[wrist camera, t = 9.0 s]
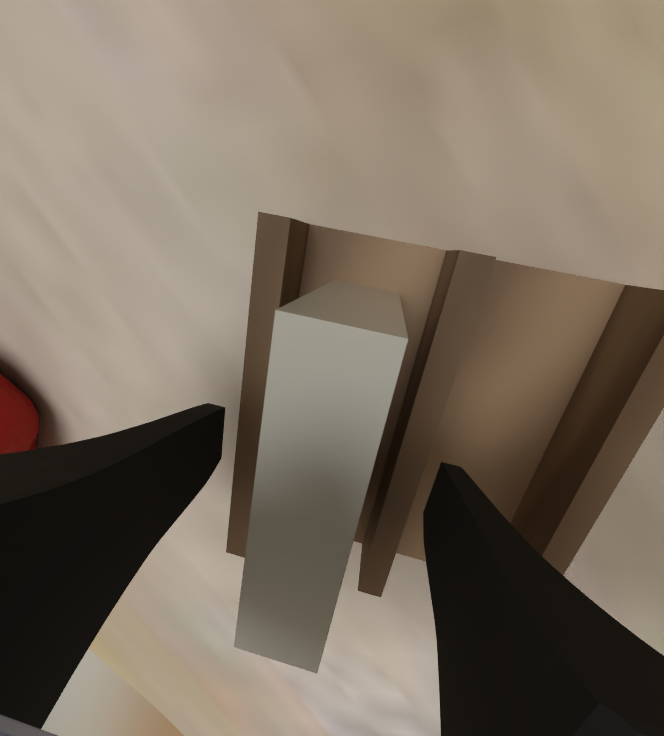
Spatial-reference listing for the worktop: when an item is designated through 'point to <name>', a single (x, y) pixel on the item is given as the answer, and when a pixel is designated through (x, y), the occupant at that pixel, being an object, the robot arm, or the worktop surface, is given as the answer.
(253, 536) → the clay block
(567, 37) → the worktop surface
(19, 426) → the pomegranate
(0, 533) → the robot arm
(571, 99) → the worktop surface
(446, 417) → the rack
